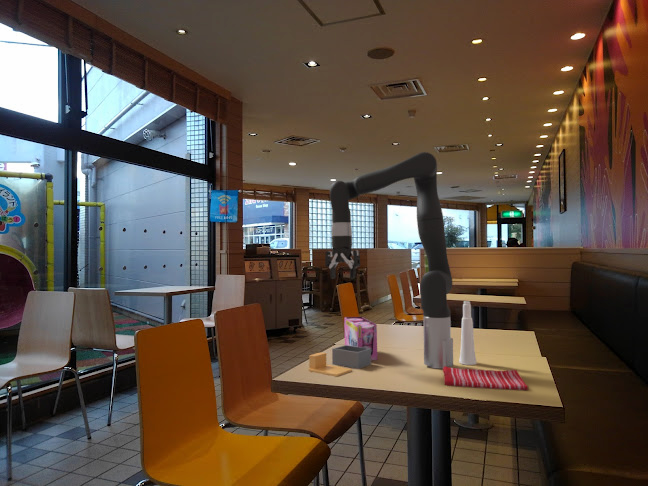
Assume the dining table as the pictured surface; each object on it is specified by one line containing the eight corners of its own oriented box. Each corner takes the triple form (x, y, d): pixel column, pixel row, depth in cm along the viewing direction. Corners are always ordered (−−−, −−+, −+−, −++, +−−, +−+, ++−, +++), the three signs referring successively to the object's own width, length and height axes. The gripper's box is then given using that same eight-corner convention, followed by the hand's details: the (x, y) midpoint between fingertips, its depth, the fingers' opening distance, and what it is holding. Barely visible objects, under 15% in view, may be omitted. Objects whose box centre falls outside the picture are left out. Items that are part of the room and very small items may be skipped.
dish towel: (442, 373, 153) (442, 365, 153) (519, 377, 147) (518, 368, 147) (442, 387, 137) (442, 378, 137) (528, 392, 131) (528, 383, 131)
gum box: (379, 362, 166) (378, 325, 167) (358, 363, 165) (357, 325, 165) (362, 349, 190) (362, 316, 190) (344, 350, 189) (343, 316, 189)
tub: (371, 365, 161) (370, 348, 162) (358, 370, 155) (358, 352, 155) (345, 361, 168) (345, 345, 168) (332, 365, 162) (332, 348, 162)
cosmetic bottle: (478, 362, 165) (477, 301, 166) (473, 365, 160) (472, 302, 161) (462, 360, 169) (461, 300, 169) (456, 363, 164) (455, 301, 164)
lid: (352, 373, 152) (351, 356, 152) (336, 379, 146) (336, 361, 146) (323, 367, 160) (322, 351, 160) (306, 372, 153) (306, 356, 153)
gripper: (363, 234, 170) (364, 278, 170) (332, 236, 179) (333, 278, 178) (352, 234, 164) (353, 279, 164) (320, 235, 173) (321, 279, 172)
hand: (342, 278), depth 171 cm, fingers open, 8 cm apart
